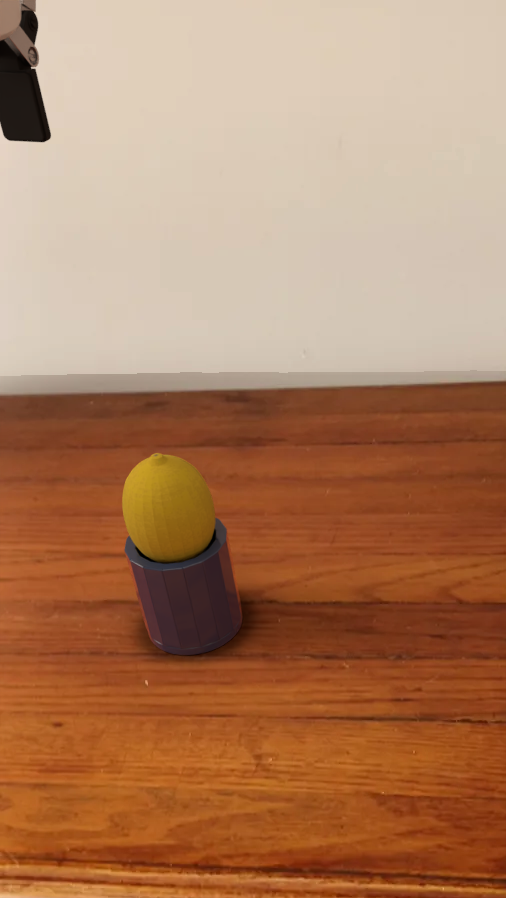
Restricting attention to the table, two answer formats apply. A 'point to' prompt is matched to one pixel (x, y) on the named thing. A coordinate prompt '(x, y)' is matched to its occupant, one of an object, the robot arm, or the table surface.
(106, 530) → the table surface
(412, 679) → the table surface
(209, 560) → the cup
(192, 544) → the lemon
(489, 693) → the table surface
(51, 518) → the table surface
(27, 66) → the robot arm
